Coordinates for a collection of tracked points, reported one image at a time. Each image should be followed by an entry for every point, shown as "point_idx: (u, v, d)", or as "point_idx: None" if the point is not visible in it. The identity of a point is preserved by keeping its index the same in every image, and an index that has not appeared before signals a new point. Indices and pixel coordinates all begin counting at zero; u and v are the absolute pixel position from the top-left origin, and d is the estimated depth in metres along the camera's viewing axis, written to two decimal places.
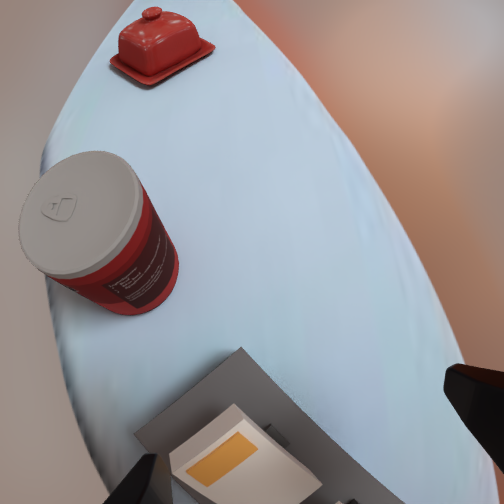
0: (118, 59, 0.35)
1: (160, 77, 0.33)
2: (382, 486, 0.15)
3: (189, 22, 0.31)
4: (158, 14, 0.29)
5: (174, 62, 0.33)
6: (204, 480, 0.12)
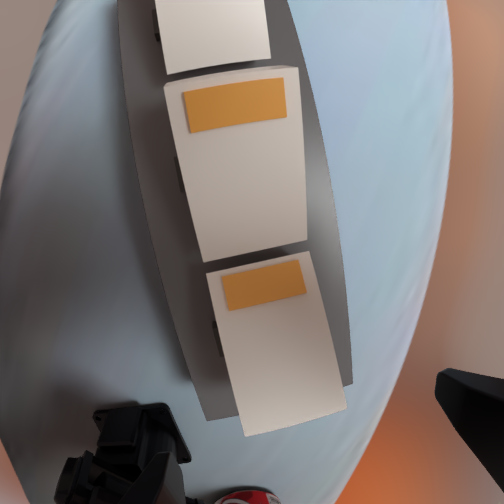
0: None
1: None
2: (323, 153, 0.15)
3: None
4: None
5: None
6: None
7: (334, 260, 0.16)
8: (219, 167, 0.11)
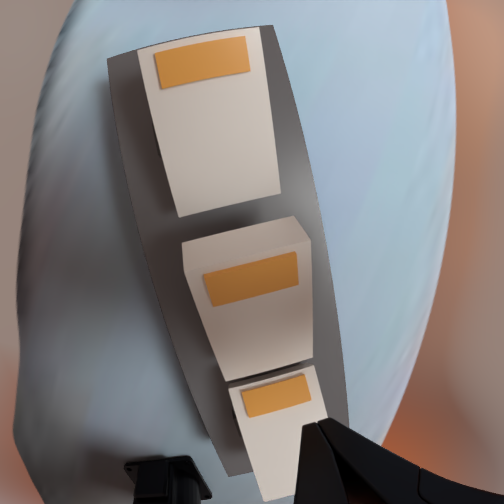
0: None
1: None
2: (328, 268, 0.17)
3: None
4: None
5: None
6: (166, 76, 0.10)
7: (335, 356, 0.18)
8: (238, 324, 0.12)
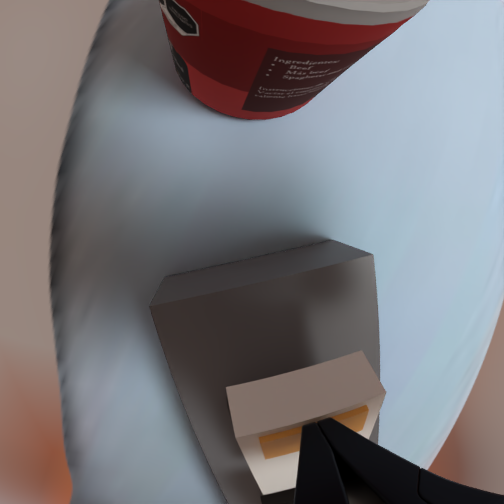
0: None
1: None
2: None
3: None
4: None
5: None
6: (271, 452, 0.08)
7: None
8: None
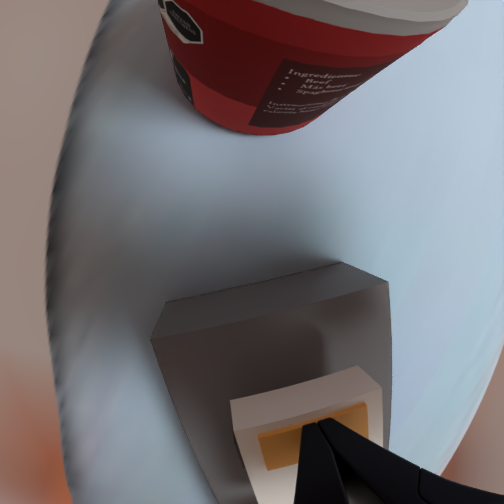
0: None
1: None
2: None
3: None
4: None
5: None
6: (272, 459, 0.08)
7: None
8: None
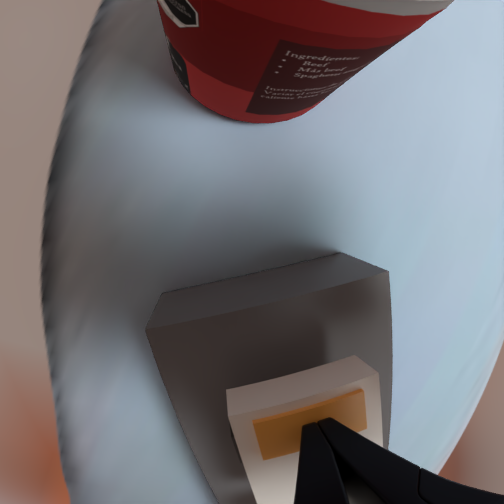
0: None
1: None
2: None
3: None
4: None
5: None
6: (268, 447, 0.08)
7: None
8: None
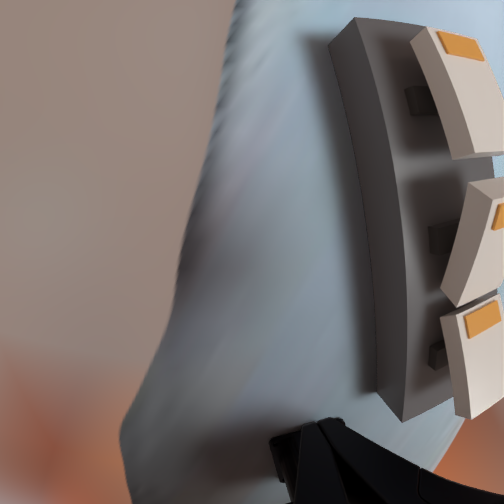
0: None
1: None
2: None
3: None
4: None
5: None
6: (448, 46, 0.11)
7: (493, 294, 0.18)
8: (491, 249, 0.13)
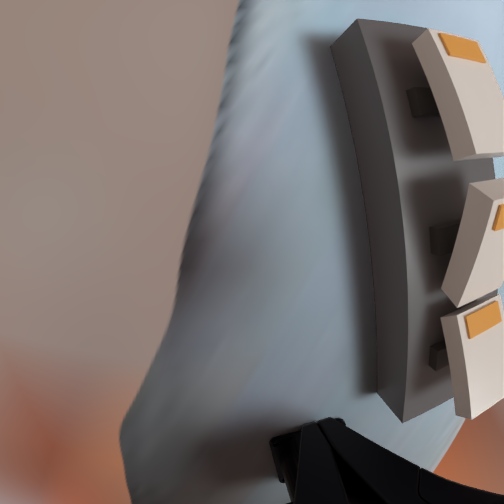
0: None
1: None
2: None
3: None
4: None
5: None
6: (450, 48, 0.11)
7: None
8: (492, 250, 0.13)
